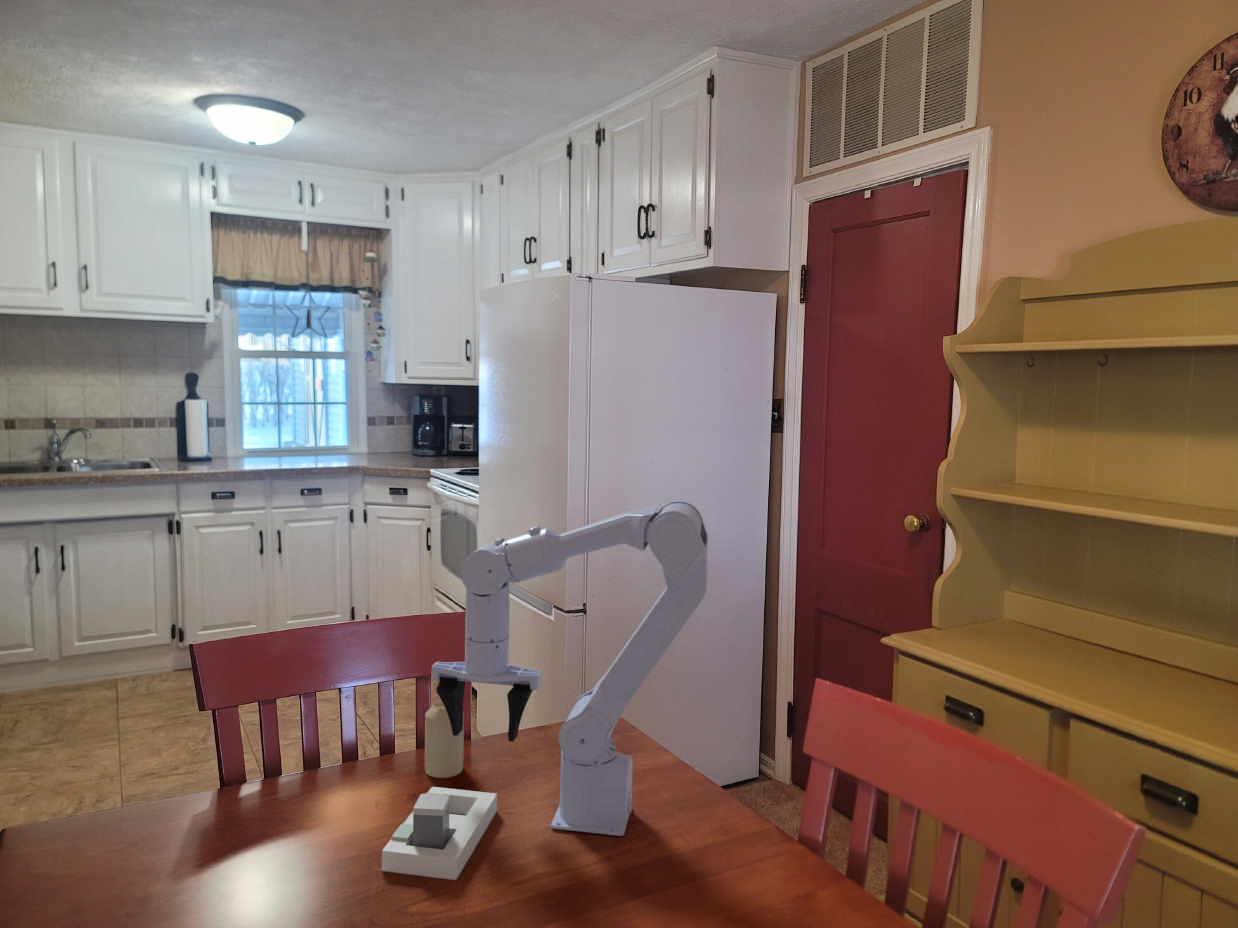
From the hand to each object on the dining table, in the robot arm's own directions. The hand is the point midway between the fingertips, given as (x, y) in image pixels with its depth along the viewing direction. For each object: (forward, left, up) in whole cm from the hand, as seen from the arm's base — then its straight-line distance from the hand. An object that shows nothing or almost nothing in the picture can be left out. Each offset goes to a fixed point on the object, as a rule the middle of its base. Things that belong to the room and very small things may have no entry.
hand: (485, 735), depth 116 cm
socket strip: (+2, +9, -10) cm, 14 cm away
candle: (+9, -9, -10) cm, 16 cm away
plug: (+2, +13, -10) cm, 17 cm away
